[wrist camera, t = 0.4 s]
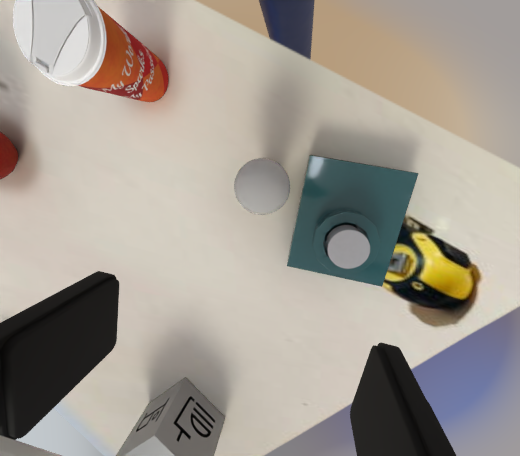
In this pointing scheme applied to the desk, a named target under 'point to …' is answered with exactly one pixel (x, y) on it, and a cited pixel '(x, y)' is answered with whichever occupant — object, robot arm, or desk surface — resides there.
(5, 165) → the apple
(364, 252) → the grey push button
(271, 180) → the light bulb
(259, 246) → the desk surface
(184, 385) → the icon cube
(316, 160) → the teal button base
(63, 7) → the paper cup
